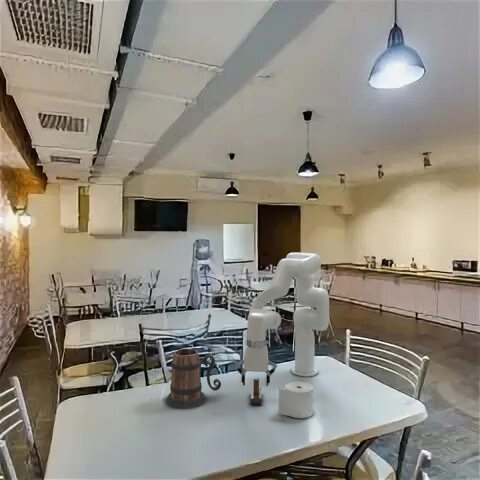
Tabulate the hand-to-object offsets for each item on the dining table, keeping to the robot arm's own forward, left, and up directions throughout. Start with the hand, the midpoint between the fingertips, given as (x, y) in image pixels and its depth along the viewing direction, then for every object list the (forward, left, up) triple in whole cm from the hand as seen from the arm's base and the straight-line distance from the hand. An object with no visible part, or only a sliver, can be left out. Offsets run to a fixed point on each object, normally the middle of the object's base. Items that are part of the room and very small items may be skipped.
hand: (255, 384), depth 169 cm
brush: (0, 0, -7) cm, 7 cm away
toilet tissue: (+11, +16, -7) cm, 21 cm away
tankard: (0, -26, -7) cm, 27 cm away
